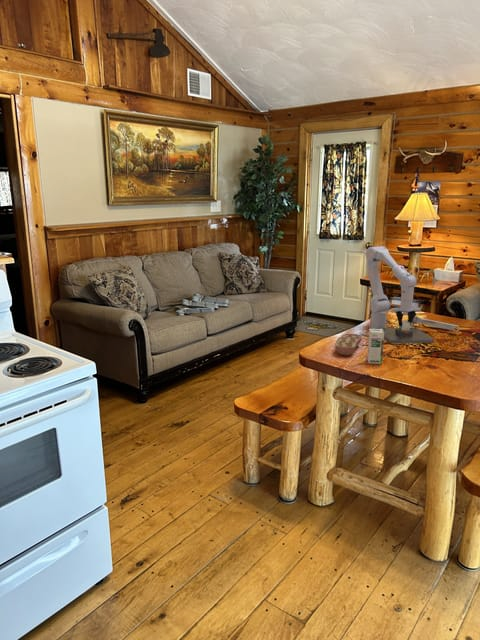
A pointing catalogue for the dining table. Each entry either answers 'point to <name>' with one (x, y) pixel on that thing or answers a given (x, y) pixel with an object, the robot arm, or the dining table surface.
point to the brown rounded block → (347, 343)
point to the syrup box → (375, 346)
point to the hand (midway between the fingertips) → (404, 325)
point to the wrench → (431, 323)
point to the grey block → (405, 326)
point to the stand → (406, 336)
